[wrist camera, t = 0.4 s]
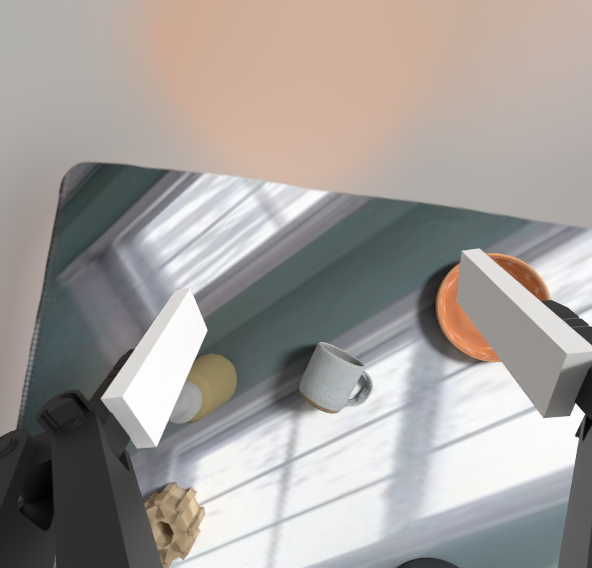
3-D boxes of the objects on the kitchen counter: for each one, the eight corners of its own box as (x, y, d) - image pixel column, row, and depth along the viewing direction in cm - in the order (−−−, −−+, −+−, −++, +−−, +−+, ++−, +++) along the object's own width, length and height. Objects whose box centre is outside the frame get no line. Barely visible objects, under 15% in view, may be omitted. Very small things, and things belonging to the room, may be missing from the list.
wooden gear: (213, 526, 49) (202, 549, 45) (164, 553, 50) (148, 578, 45) (186, 473, 50) (173, 490, 46) (138, 499, 50) (120, 519, 46)
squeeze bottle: (187, 387, 51) (114, 435, 33) (206, 342, 51) (143, 364, 33) (231, 407, 50) (182, 467, 32) (250, 361, 50) (211, 395, 32)
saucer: (466, 377, 48) (476, 382, 45) (410, 288, 49) (416, 287, 46) (558, 325, 47) (575, 327, 44) (500, 236, 48) (512, 232, 45)
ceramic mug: (297, 384, 49) (293, 400, 42) (318, 338, 49) (318, 345, 42) (357, 414, 49) (365, 436, 41) (379, 366, 49) (391, 380, 41)
